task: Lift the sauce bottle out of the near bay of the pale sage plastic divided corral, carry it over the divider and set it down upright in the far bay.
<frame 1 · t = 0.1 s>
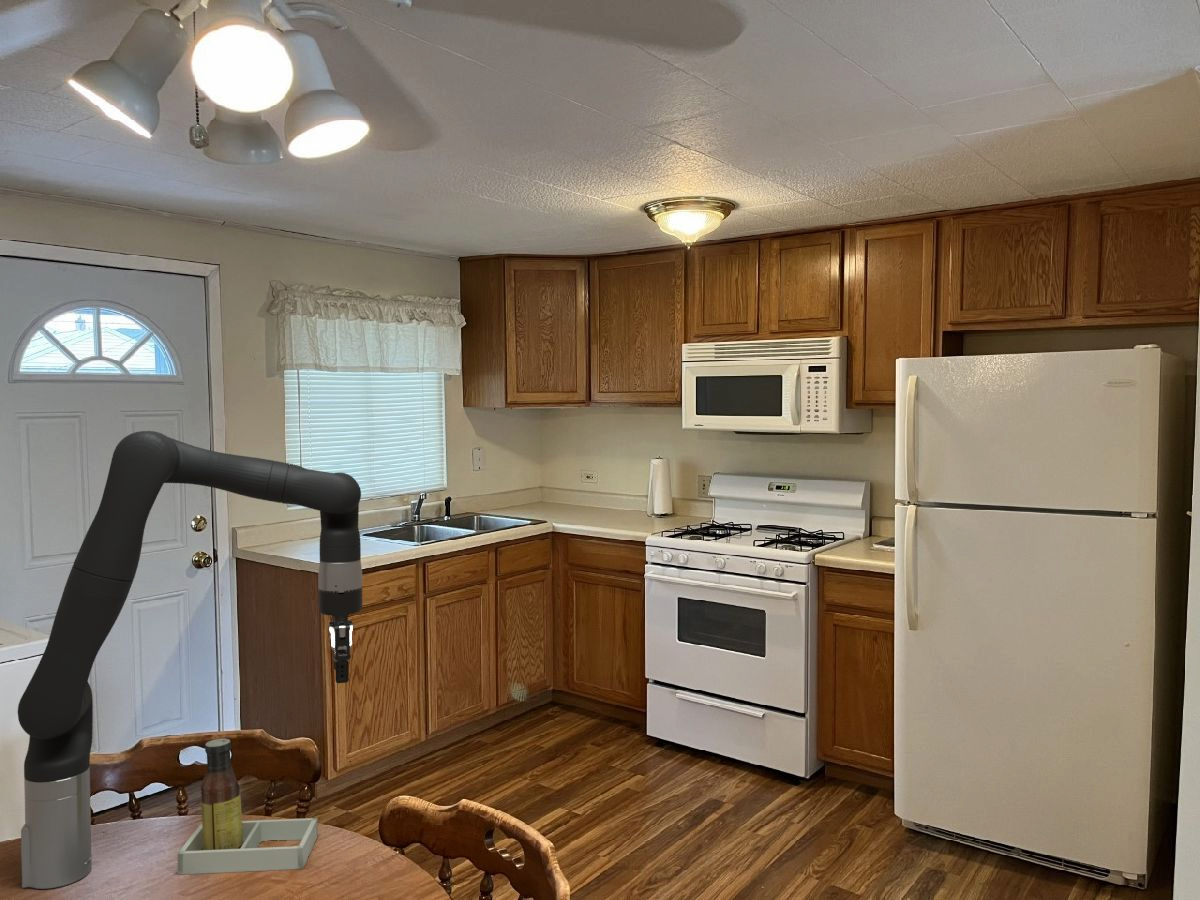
hand: (341, 675, 161), 29 cm above the table, fingers open, 8 cm apart
sauce bottle: (222, 857, 155), resting in corral
corral: (250, 855, 156), on the table
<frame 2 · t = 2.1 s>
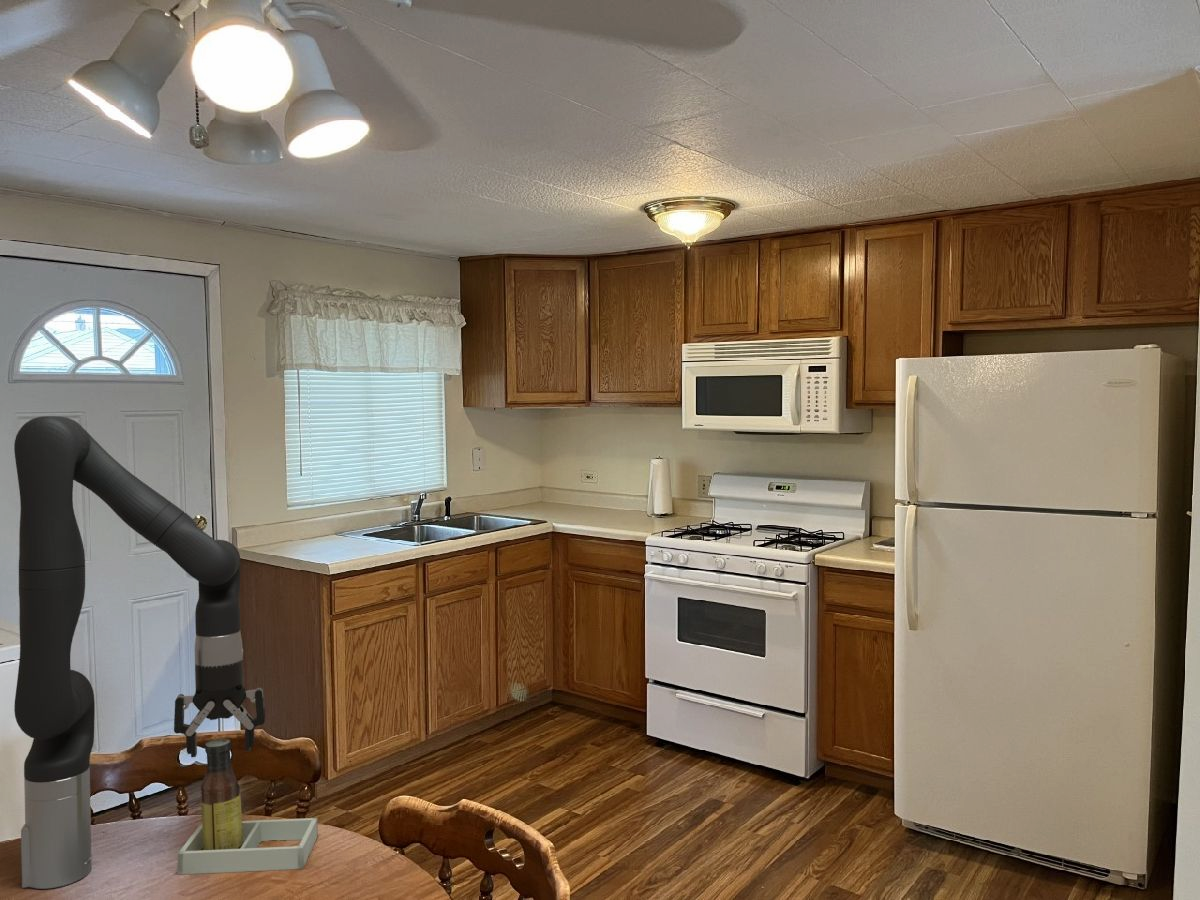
hand: (221, 752, 155), 18 cm above the table, fingers open, 8 cm apart
nothing on the table moved.
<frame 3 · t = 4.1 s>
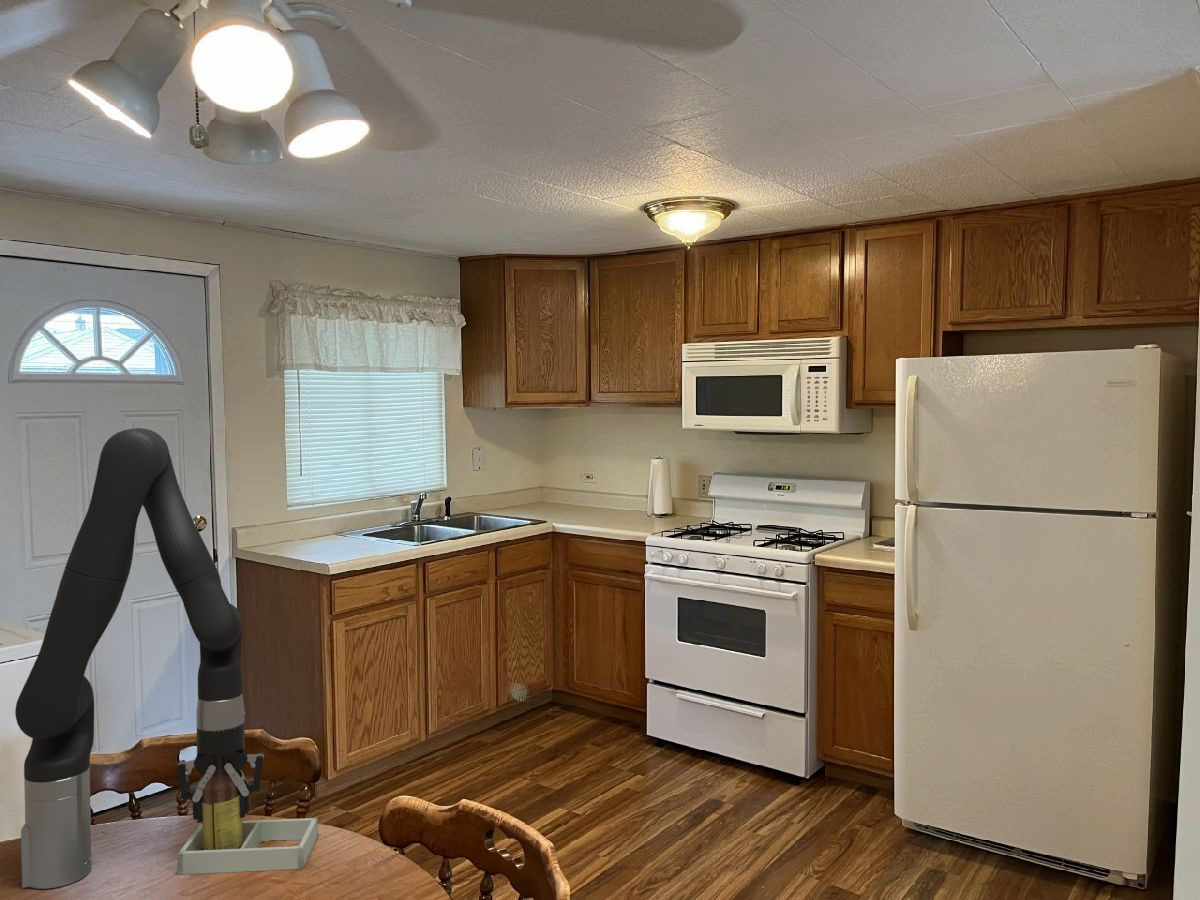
hand: (221, 818, 155), 7 cm above the table, fingers closed on sauce bottle, 6 cm apart
sauce bottle: (222, 857, 155), resting in corral, touching gripper
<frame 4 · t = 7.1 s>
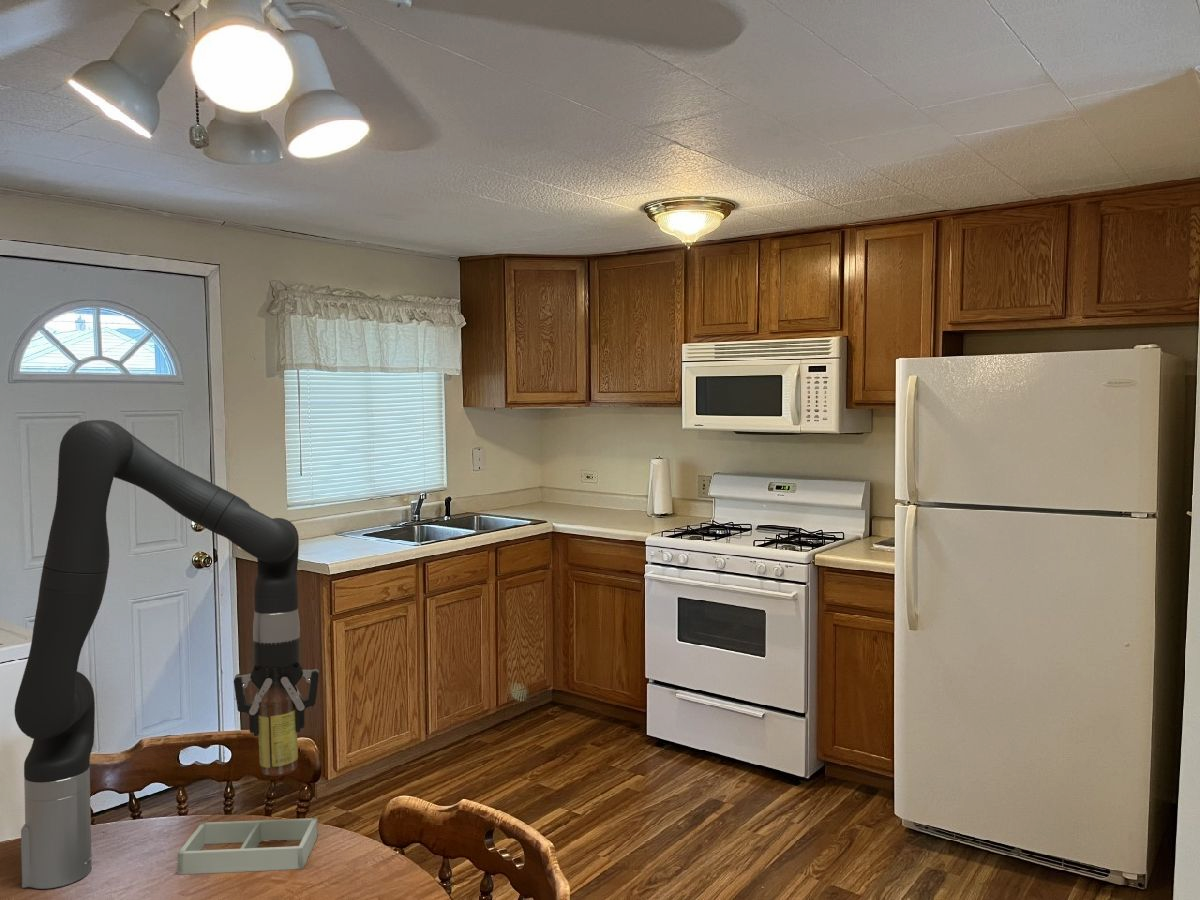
hand: (277, 732, 156), 21 cm above the table, fingers closed on sauce bottle, 6 cm apart
sauce bottle: (278, 772, 156), point 14 cm above the table, touching gripper
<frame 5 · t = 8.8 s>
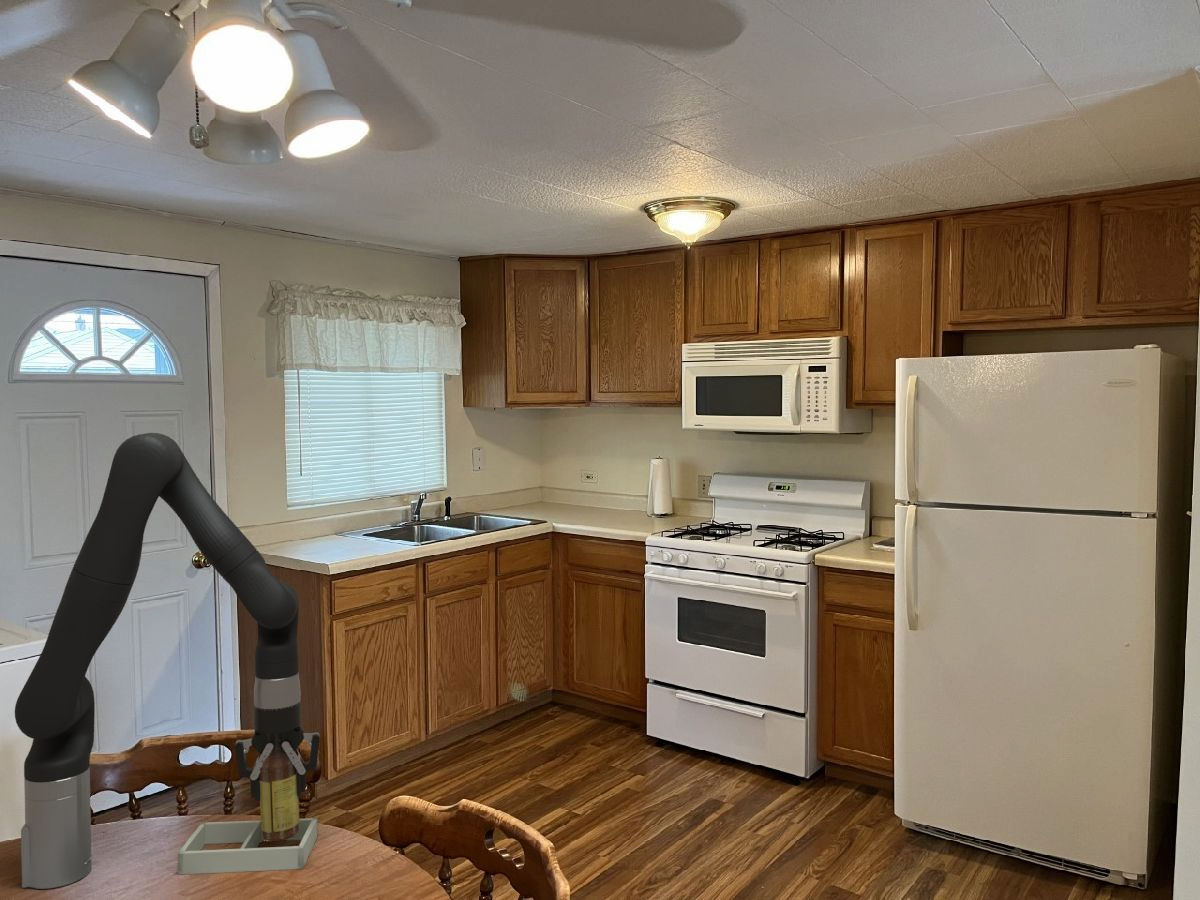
hand: (278, 796, 156), 10 cm above the table, fingers closed on sauce bottle, 6 cm apart
sauce bottle: (279, 835, 156), point 3 cm above the table, touching gripper
when the fingers open (8 cm above the table, at t = 10.3 s): sauce bottle drops 1 cm, resting in corral.
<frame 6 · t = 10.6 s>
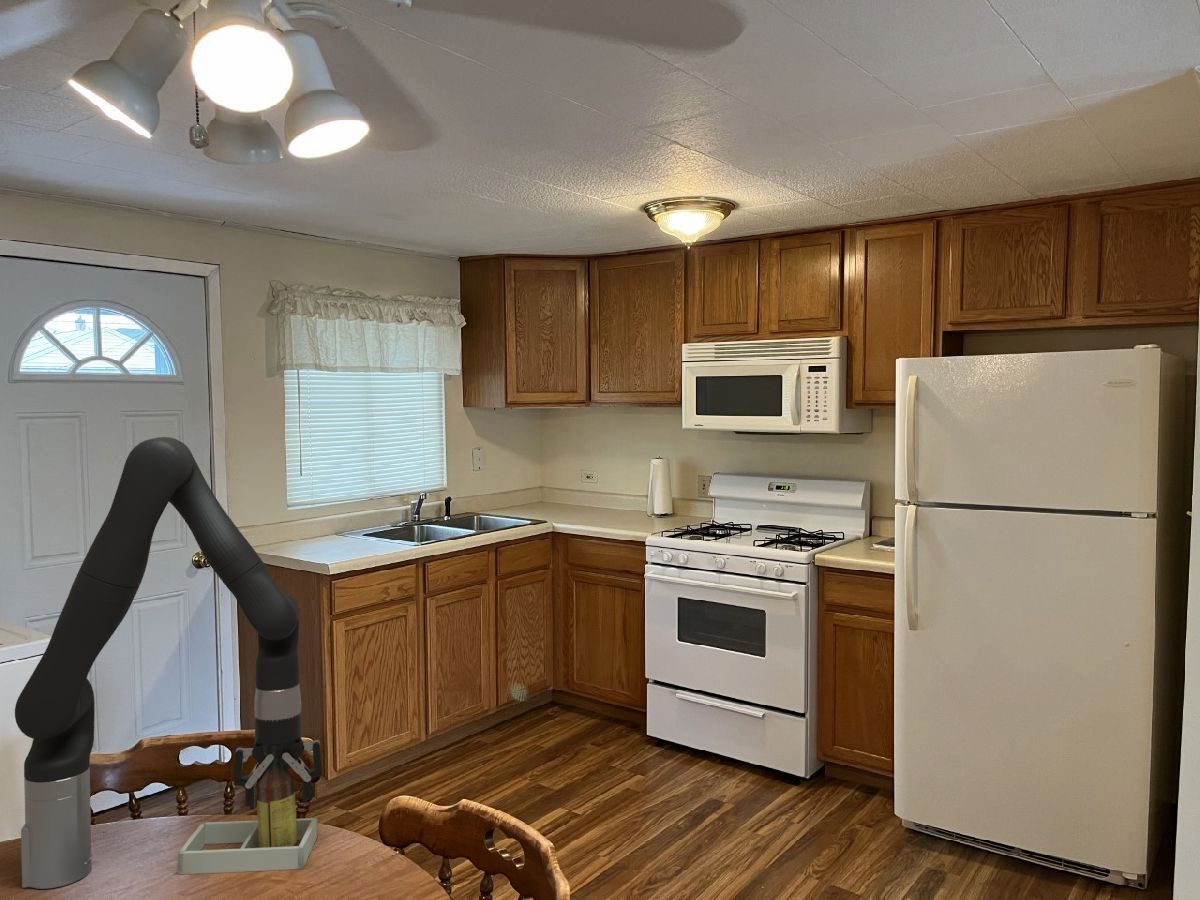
hand: (279, 804, 156), 9 cm above the table, fingers open, 8 cm apart
sauce bottle: (277, 855, 156), resting in corral
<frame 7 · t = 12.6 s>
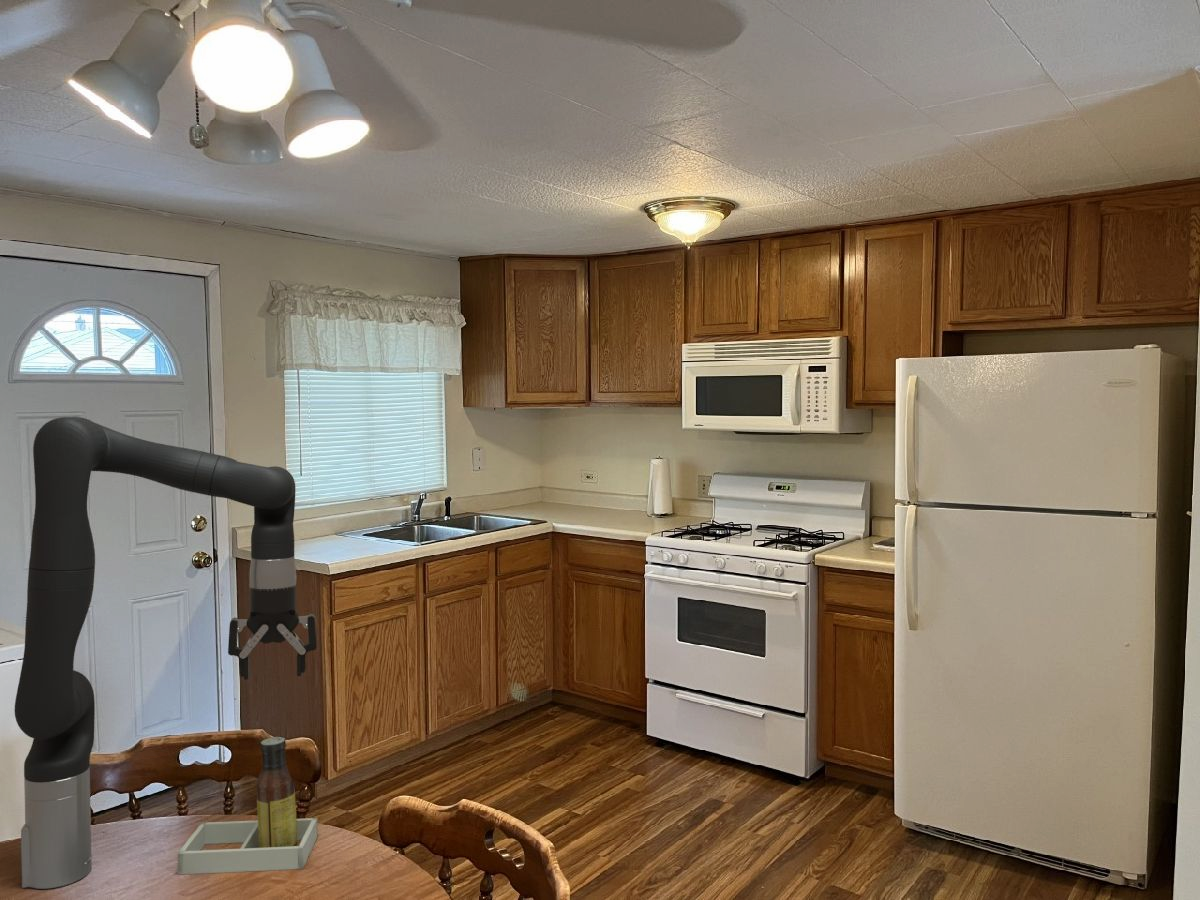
hand: (273, 677, 156), 31 cm above the table, fingers open, 8 cm apart
nothing on the table moved.
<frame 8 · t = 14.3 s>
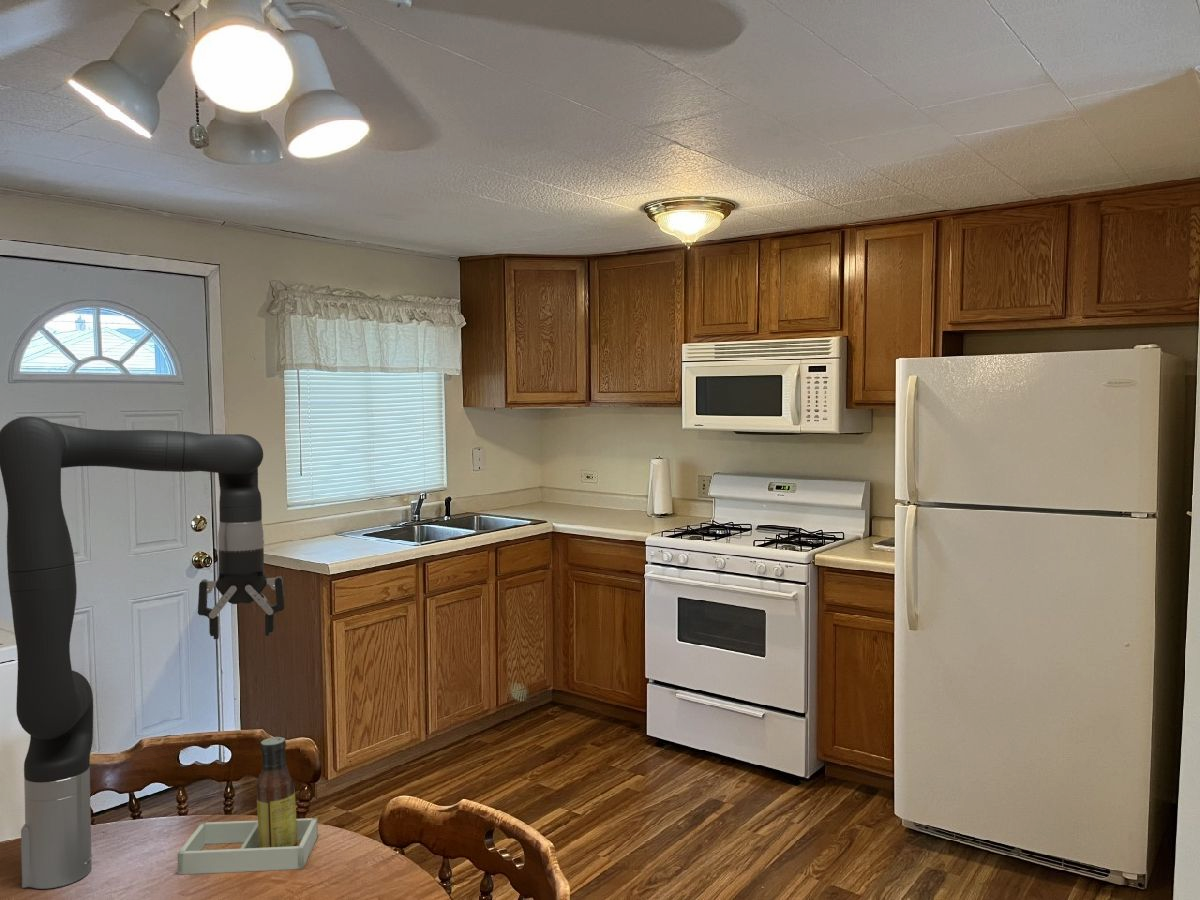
hand: (242, 636, 162), 36 cm above the table, fingers open, 8 cm apart
nothing on the table moved.
at the end: sauce bottle inside the target area (0.7 cm from its centre), resting in corral; sauce bottle tilted 0°; the gripper is holding nothing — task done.
